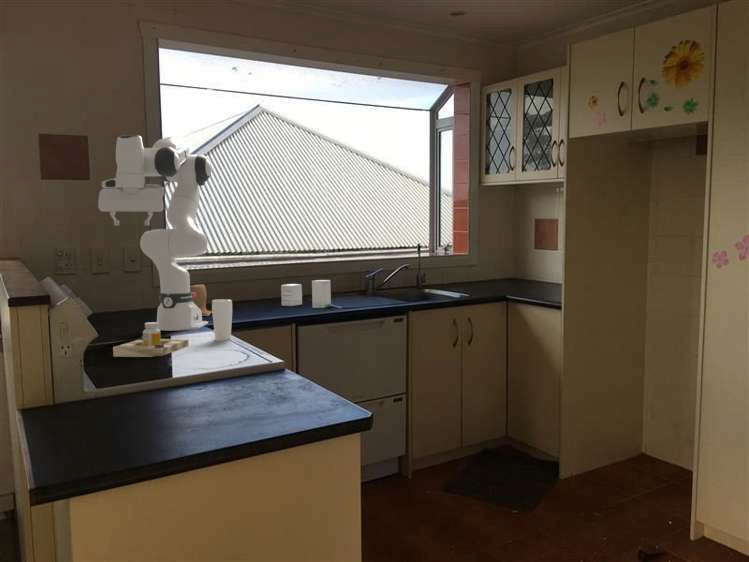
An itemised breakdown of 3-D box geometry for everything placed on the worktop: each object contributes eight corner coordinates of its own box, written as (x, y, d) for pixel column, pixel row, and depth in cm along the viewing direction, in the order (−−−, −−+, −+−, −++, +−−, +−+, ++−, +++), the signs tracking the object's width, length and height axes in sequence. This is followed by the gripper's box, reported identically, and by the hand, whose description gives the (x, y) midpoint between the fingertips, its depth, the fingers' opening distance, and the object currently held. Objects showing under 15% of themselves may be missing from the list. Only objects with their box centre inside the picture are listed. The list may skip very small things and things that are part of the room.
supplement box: (291, 308, 320) (291, 283, 319) (302, 309, 316) (302, 284, 315) (281, 310, 314) (280, 284, 313) (292, 311, 310) (291, 285, 309)
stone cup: (187, 315, 296) (187, 283, 295) (214, 315, 297) (213, 283, 296) (181, 320, 281) (180, 286, 280) (208, 319, 282) (207, 285, 281)
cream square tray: (143, 347, 215) (142, 335, 214) (188, 348, 211) (188, 336, 211) (113, 356, 199) (112, 343, 198) (161, 358, 195) (161, 345, 195)
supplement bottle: (141, 354, 202) (140, 324, 201) (145, 351, 207) (144, 321, 207) (158, 354, 203) (157, 324, 202) (162, 350, 208) (161, 321, 207)
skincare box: (324, 314, 297) (323, 281, 296) (311, 313, 299) (310, 280, 298) (331, 312, 305) (331, 279, 304) (319, 311, 307) (318, 279, 306)
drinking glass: (211, 342, 223) (210, 299, 222) (231, 341, 226) (230, 298, 225) (214, 345, 217) (213, 301, 216) (234, 344, 220) (233, 300, 218)
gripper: (164, 185, 218) (165, 225, 218) (99, 183, 212) (100, 225, 213) (163, 183, 212) (164, 225, 212) (96, 182, 206) (97, 225, 207)
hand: (131, 225), depth 213 cm, fingers open, 8 cm apart
